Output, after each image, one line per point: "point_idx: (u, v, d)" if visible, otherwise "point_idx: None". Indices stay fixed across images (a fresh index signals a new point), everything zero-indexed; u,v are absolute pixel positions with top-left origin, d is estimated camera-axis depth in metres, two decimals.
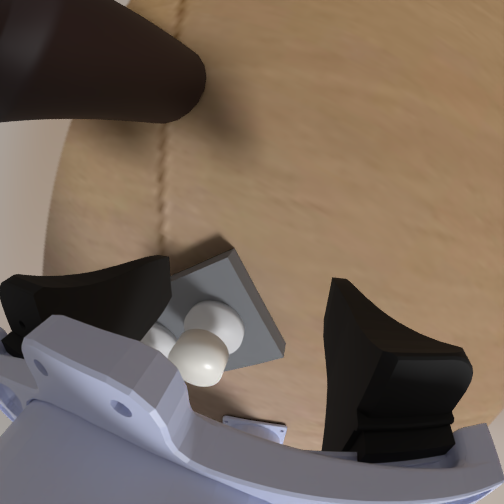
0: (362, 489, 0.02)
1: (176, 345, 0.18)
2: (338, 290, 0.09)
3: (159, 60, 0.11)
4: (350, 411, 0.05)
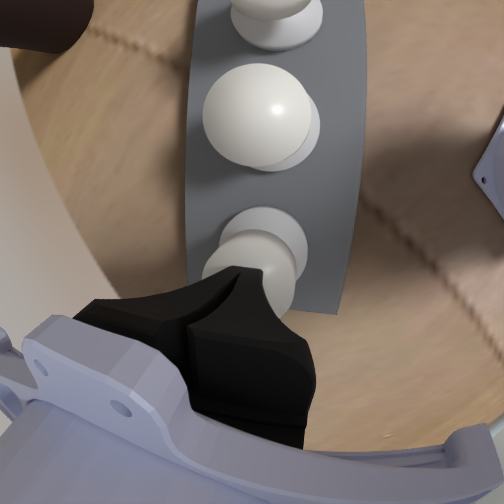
0: (362, 489, 0.02)
1: None
2: None
3: None
4: None
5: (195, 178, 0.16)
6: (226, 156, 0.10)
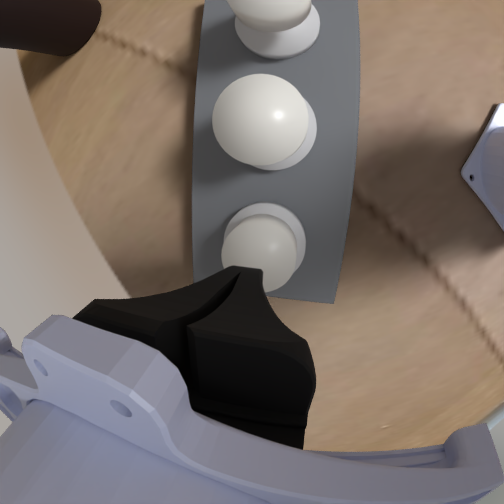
0: (362, 489, 0.02)
1: None
2: None
3: None
4: None
5: (201, 176, 0.17)
6: (233, 156, 0.11)
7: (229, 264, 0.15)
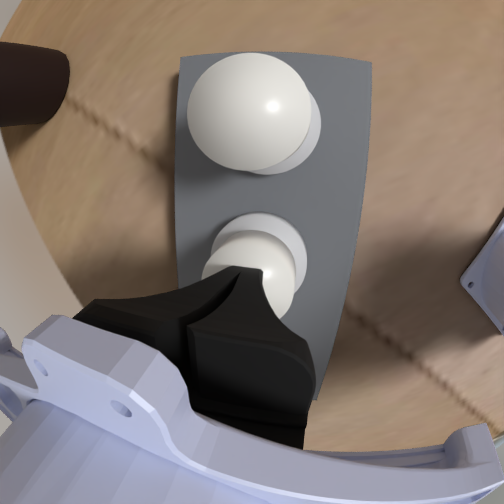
0: (362, 489, 0.02)
1: None
2: None
3: None
4: None
5: None
6: None
7: None
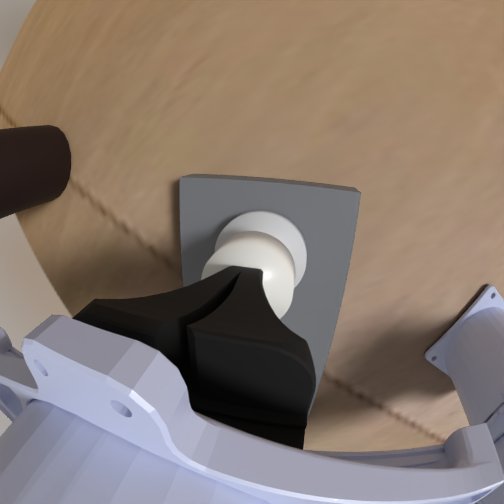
0: (362, 489, 0.02)
1: None
2: None
3: None
4: None
5: None
6: None
7: None
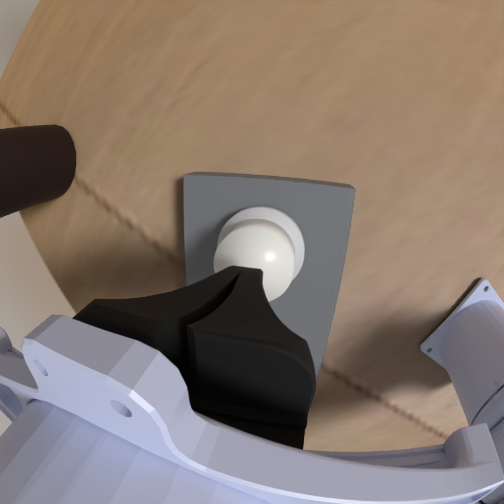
0: (362, 489, 0.02)
1: None
2: None
3: (0, 135, 0.12)
4: None
5: None
6: None
7: None
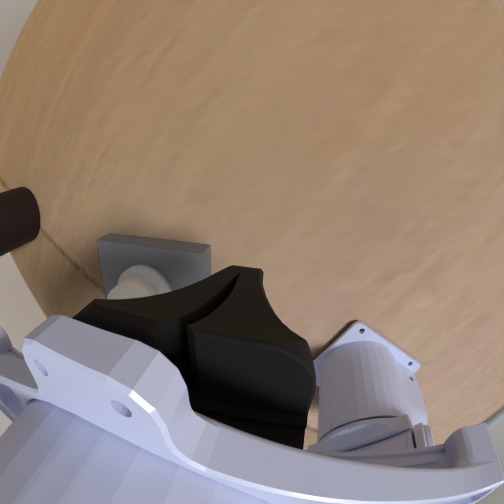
0: (362, 489, 0.02)
1: None
2: None
3: None
4: None
5: None
6: None
7: None
